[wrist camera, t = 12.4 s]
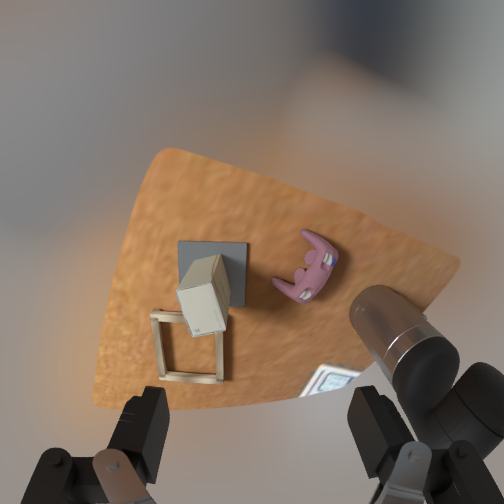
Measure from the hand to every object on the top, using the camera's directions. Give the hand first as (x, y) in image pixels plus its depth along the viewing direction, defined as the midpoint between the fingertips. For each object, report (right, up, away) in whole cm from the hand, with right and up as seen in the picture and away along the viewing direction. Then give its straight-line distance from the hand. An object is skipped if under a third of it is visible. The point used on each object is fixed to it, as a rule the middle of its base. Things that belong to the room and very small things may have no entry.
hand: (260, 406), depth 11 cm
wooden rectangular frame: (-11, -9, +36) cm, 39 cm away
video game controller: (+7, +5, +34) cm, 35 cm away
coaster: (-6, +3, +33) cm, 34 cm away
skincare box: (-6, +3, +33) cm, 34 cm away
